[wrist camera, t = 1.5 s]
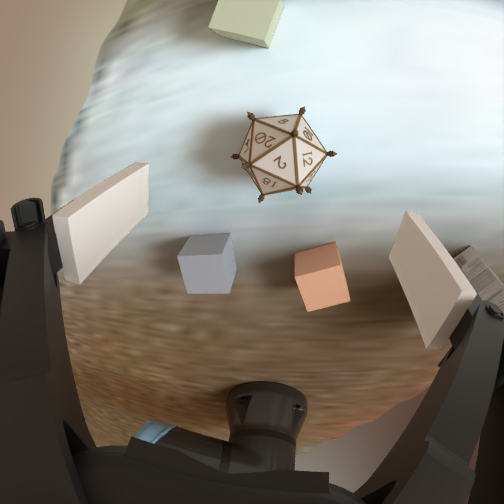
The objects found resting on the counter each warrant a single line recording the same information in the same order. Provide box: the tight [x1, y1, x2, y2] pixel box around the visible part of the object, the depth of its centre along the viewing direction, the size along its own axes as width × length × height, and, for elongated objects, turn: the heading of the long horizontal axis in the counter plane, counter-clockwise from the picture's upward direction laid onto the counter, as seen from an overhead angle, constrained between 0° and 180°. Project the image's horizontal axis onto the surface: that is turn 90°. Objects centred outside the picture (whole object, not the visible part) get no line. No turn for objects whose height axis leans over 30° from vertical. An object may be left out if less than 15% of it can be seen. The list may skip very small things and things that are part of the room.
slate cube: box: [177, 233, 237, 294], centre depth 35 cm, size 5×5×5 cm
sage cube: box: [208, 0, 284, 48], centre depth 21 cm, size 5×5×5 cm
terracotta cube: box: [295, 242, 350, 312], centre depth 34 cm, size 5×5×5 cm
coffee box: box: [453, 246, 504, 313], centre depth 27 cm, size 9×6×16 cm
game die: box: [231, 106, 337, 203], centre depth 26 cm, size 9×8×10 cm
